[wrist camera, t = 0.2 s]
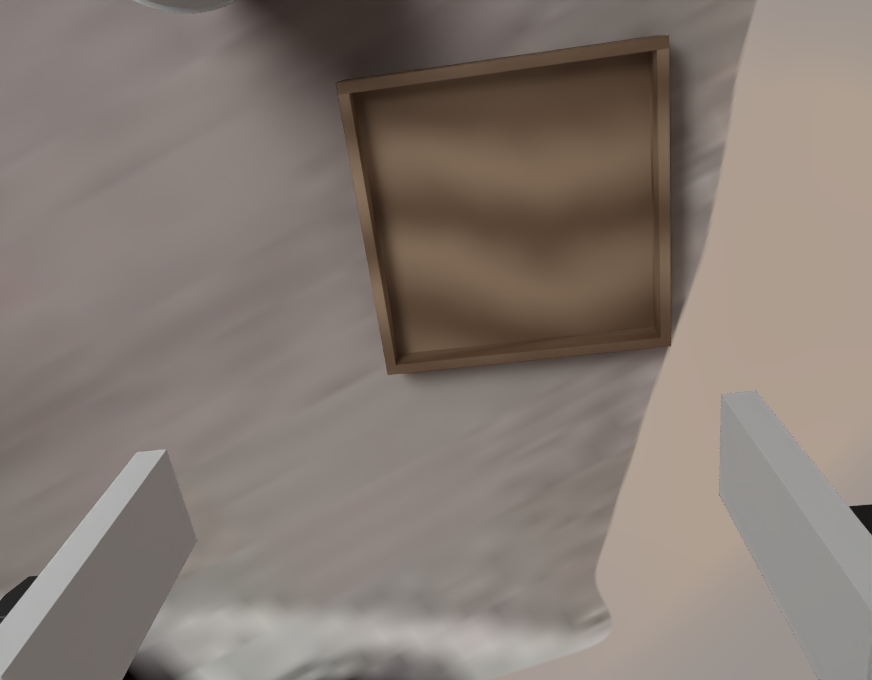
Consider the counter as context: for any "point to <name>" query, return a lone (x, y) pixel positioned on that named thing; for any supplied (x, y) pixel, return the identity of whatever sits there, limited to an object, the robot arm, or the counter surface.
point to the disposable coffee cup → (185, 5)
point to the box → (516, 204)
